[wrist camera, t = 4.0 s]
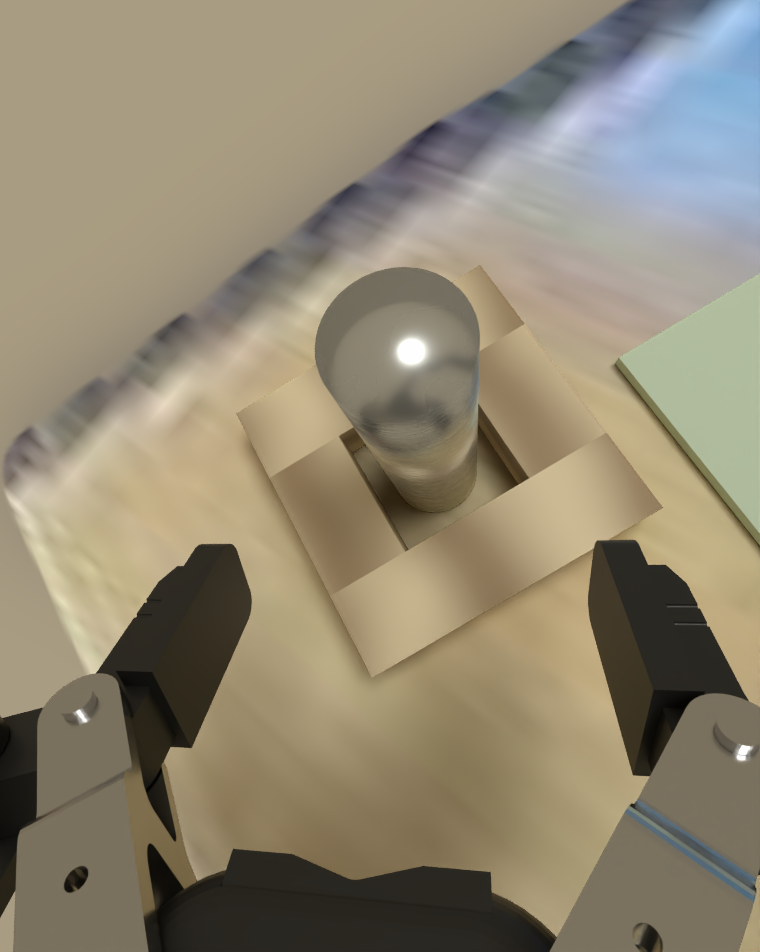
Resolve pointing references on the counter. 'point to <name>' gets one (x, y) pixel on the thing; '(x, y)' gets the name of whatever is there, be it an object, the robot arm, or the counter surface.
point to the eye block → (472, 537)
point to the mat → (711, 393)
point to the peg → (408, 379)
